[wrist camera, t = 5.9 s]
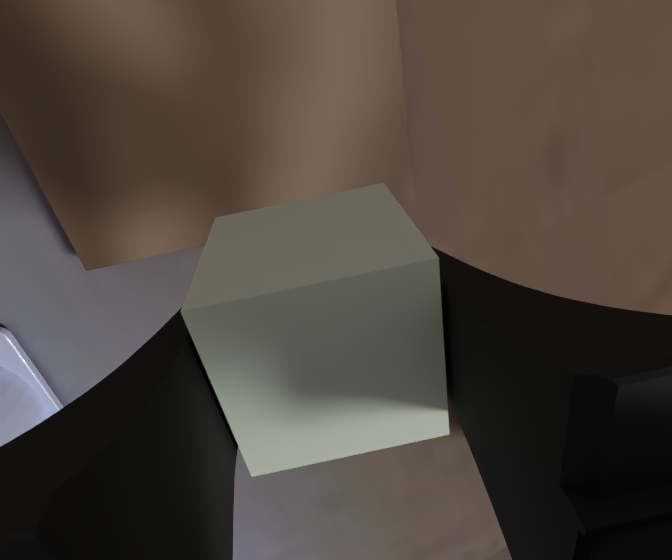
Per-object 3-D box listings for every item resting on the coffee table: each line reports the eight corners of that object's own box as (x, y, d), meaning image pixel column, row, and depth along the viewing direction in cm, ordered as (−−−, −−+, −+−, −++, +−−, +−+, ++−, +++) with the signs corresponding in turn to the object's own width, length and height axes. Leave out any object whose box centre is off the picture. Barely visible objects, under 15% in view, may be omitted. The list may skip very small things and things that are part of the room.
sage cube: (260, 350, 13) (251, 476, 10) (215, 217, 11) (180, 311, 7) (400, 320, 13) (449, 434, 10) (383, 182, 11) (438, 257, 7)
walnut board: (95, 260, 19) (86, 270, 18) (-49, -13, 14) (-71, -16, 13) (408, 192, 19) (415, 199, 18) (378, -103, 14) (385, -113, 13)
